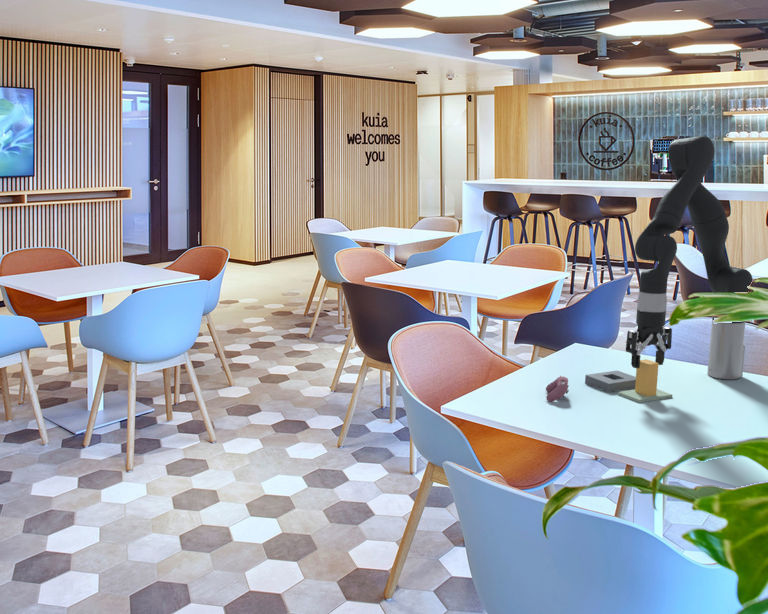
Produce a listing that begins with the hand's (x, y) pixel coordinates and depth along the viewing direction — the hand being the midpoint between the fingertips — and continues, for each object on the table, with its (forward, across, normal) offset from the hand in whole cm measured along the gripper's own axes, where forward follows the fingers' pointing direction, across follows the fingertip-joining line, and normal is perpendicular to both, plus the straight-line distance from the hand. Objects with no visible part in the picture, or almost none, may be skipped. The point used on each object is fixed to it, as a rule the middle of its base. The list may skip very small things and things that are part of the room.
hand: (647, 366), depth 216 cm
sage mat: (+9, 0, 0) cm, 9 cm away
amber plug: (+8, 0, 0) cm, 8 cm away
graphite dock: (+9, +1, -12) cm, 15 cm away
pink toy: (+9, +23, -9) cm, 27 cm away
